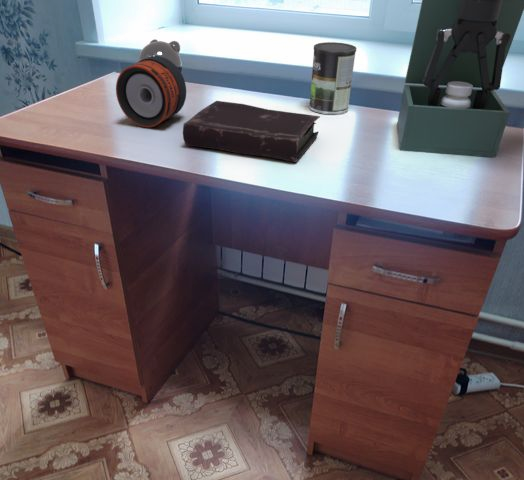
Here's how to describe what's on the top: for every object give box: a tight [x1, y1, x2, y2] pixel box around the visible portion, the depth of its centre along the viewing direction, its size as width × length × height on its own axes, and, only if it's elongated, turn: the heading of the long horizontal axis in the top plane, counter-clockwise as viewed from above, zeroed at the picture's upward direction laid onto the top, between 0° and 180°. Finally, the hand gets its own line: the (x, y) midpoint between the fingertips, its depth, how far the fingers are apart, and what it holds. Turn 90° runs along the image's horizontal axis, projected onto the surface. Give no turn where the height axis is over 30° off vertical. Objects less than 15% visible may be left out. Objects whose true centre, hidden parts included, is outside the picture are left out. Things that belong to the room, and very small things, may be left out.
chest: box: [396, 84, 511, 158], centre depth 112 cm, size 17×20×9 cm
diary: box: [182, 100, 321, 163], centre depth 110 cm, size 19×25×5 cm
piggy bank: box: [138, 38, 183, 73], centre depth 138 cm, size 11×15×12 cm
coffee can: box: [308, 41, 358, 116], centre depth 126 cm, size 10×10×14 cm
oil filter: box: [115, 56, 187, 128], centre depth 116 cm, size 13×12×13 cm
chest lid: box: [404, 0, 524, 89], centre depth 109 cm, size 18×20×7 cm
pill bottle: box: [439, 81, 474, 109], centre depth 108 cm, size 6×6×11 cm
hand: (450, 123), depth 109 cm, fingers open, 8 cm apart
